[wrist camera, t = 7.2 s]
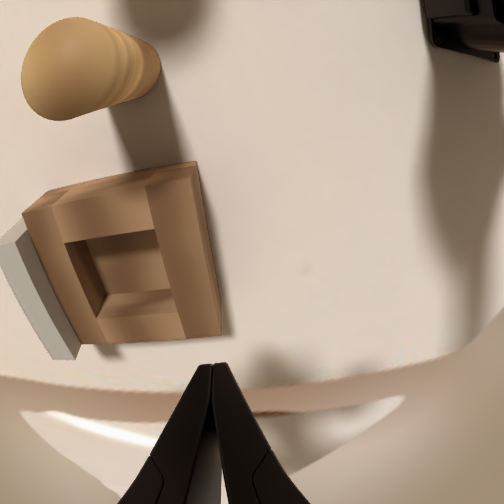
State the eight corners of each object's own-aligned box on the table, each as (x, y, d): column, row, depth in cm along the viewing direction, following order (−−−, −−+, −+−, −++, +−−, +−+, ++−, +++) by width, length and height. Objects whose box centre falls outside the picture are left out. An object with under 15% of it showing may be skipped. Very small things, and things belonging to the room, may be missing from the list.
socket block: (196, 161, 18) (190, 179, 15) (220, 300, 23) (221, 335, 20) (48, 190, 17) (21, 213, 14) (94, 312, 23) (81, 344, 20)
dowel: (156, 32, 14) (108, 2, 7) (164, 93, 16) (120, 104, 9) (95, 49, 14) (16, 40, 7) (104, 106, 15) (30, 133, 9)
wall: (52, 205, 18) (14, 242, 14) (94, 312, 23) (75, 360, 18) (30, 210, 18) (-8, 247, 14) (73, 313, 23) (52, 359, 18)
